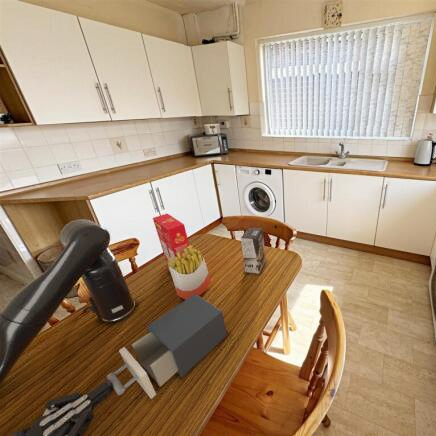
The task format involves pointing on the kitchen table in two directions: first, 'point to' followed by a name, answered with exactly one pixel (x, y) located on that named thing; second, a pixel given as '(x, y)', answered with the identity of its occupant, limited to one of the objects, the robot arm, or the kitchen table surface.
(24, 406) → the kitchen table surface
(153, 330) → the cabinet
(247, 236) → the coffee box
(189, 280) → the french fries container
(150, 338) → the drawer
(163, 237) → the food packaging
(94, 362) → the kitchen table surface
